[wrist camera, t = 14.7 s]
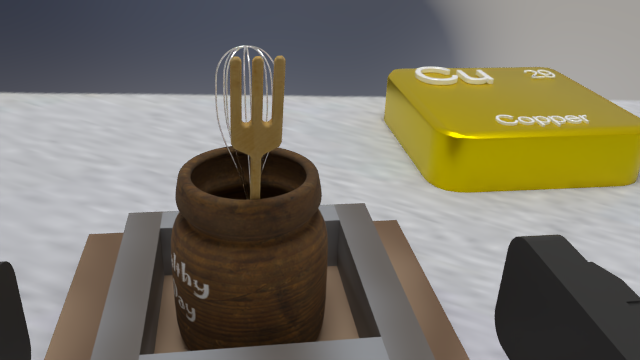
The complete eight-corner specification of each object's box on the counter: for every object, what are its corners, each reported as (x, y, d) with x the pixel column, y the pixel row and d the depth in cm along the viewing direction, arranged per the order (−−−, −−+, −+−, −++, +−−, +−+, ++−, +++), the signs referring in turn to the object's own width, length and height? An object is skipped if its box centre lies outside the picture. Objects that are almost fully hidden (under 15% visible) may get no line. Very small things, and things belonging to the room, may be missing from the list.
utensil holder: (309, 276, 28) (317, 11, 23) (341, 375, 23) (362, 55, 17) (177, 289, 27) (154, 12, 22) (177, 395, 21) (146, 59, 16)
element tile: (434, 200, 39) (444, 129, 36) (378, 117, 52) (382, 62, 50) (648, 190, 41) (669, 123, 39) (542, 113, 54) (553, 60, 52)
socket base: (-14, 562, 17) (-41, 476, 15) (91, 250, 31) (82, 190, 30) (524, 497, 19) (546, 417, 18) (394, 235, 34) (400, 178, 32)
